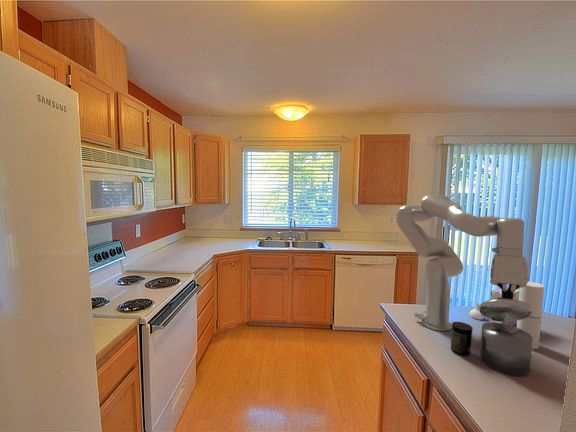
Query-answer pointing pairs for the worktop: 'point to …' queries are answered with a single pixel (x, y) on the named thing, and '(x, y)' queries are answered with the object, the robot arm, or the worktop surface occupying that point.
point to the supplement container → (461, 338)
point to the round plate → (505, 309)
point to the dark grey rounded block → (506, 349)
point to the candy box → (498, 293)
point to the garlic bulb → (476, 313)
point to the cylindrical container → (535, 300)
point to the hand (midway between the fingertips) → (506, 301)
